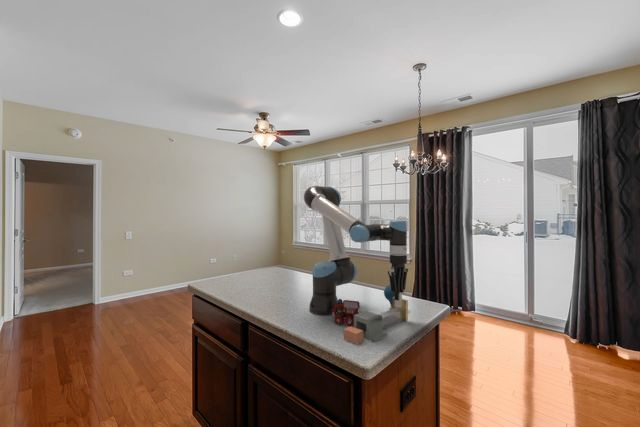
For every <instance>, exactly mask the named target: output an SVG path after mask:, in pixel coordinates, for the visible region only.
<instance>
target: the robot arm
mask: <svg viewBox="0 0 640 427" xmlns="http://www.w3.org/2000/svg"><path fill="white" fill-rule="evenodd" d="M303 200H304V203H305V204H306V206H307V207H308V208H309V209H311V210H312V211H314V212H318V213H319V214H320V215H321V217H322V222H323V226H324V231H325V235H326V236H325V237H326V241H327V246H328V250H329V255H330V258H329V259H328V260H326V261H319V262H317V263H315V264H314V265H313V266H312V296H311V299H310V303H309V306H308V310H309V312H311V313H312V314H315V315H320V316H330V315H331V316H332V310H333V308H334V306H335V304H336V303H337V302H338V300H339V299H338V296H337V287H338V286H342V285H347V284H350V283H351V282H353V281H355V279H356V277H357V274H358V269H357V265H356V264H355V263H354V261H352V260H351V256H350V255H348V254H347V251H346V245H345V242H344V238H343V232H342V230H344V231H345V232H346V233H348V234H349V237H350V238H351V240H352V241H353V242H354V243H368V242H374V241H388V242H389V254H390V255H389V263H390V264H391V269H390V270H388V271H387V274H388V278H389V285H391V291H392V292H394V293H395V307H399V308H401V307H402V299H403V294H404V293H405V290H406V284H407V279H408V277H407V275H408V272H409V269H408V267H407V268H406V264H407V263H408V256H407V252H408V244H407V243H408V242H407V238H408V228H407V226H408V225H407V221H406V220H393V219H391V220H390V221H389V223H387V224H385V223H384V224H382V223H381V224H380V223H370V224H369V223H368V224H365V223H363V222H362V221H360V220H359V219H357V218H356V217H354V216H353V215H351V214H350V213H348V212H347V211H345V210H344V209H343V208H341V207H340V204H341V202H342V196H341V194H340V191H339V190H338V189H336V188H334V187H331V186H319V185H312V186H309V187H307V189H306V190H305V191H304V194H303ZM338 307H339V306H338ZM338 307H337V308H338ZM337 312H338V311H337ZM337 312H336V313H337Z"/></svg>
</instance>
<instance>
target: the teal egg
mask: <svg viewBox="0 0 640 427" xmlns="http://www.w3.org/2000/svg"><path fill="white" fill-rule="evenodd" d="M383 295H384V297H385V299H386V300H387V301H389V304H390V309H393V297H395V293H394V292H392V291H391V285H390V284H388V285H387V286H385V288H384V290H383Z"/></svg>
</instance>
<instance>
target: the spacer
mask: <svg viewBox="0 0 640 427" xmlns="http://www.w3.org/2000/svg"><path fill="white" fill-rule="evenodd" d="M343 339H344V340H345V339H346V340H345V341H347V340H348V341H347V342H350V341H351V342H350V343H352V342H354V343H353V344H355V343H356V344H355V345H358V344H360V343H362V342H363V341H364V331H363V330H360V329H357V328H354V326H352V327H351V326H350V327H349V326H347V327H346V328H344V329H343ZM359 342H360V343H359ZM357 343H358V344H357Z"/></svg>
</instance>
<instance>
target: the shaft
mask: <svg viewBox="0 0 640 427" xmlns="http://www.w3.org/2000/svg"><path fill="white" fill-rule="evenodd" d="M377 314H378V313H377ZM378 315H381V316H382V330H384V329H386V328H389V327H391V326H393V325H395V324H398V323H400V322H401V321H405V322H408V321H409V300H408V299H404V298H402V307H401V308H399V307H395V297H393V309H392V308H390V309H388V310H386V311H384V312H380V313H379V314H378ZM364 332H365V333H366V324H364V331H363V333H364Z"/></svg>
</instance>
